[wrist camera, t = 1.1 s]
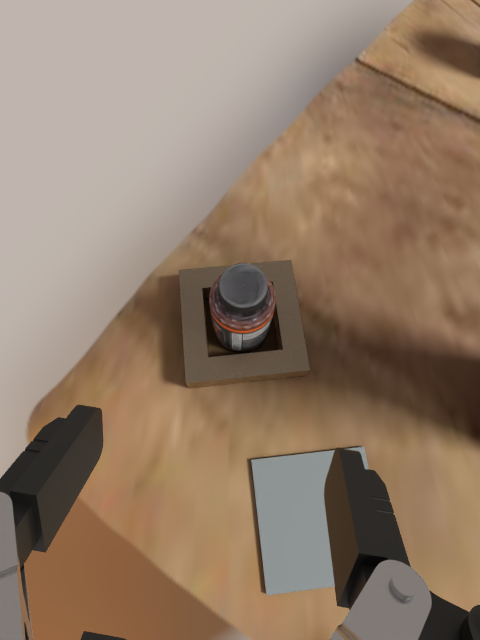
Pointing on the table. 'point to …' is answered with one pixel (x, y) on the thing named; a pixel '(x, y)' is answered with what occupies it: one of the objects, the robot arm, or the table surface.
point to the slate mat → (294, 520)
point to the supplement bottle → (242, 307)
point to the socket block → (249, 365)
